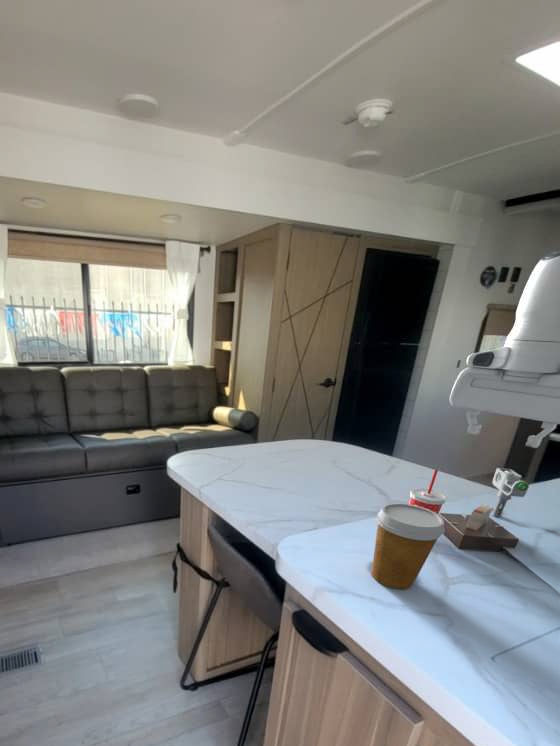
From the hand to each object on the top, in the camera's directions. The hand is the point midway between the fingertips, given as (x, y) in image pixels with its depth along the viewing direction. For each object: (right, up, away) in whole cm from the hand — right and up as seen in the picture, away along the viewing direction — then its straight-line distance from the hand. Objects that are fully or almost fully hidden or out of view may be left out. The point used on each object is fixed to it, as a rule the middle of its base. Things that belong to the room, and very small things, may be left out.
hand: (500, 440), depth 74 cm
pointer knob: (+1, -16, +7) cm, 17 cm away
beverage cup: (-11, -18, +9) cm, 23 cm away
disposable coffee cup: (-23, -25, -6) cm, 34 cm away
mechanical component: (+14, -14, +18) cm, 27 cm away
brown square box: (0, -18, +8) cm, 20 cm away
